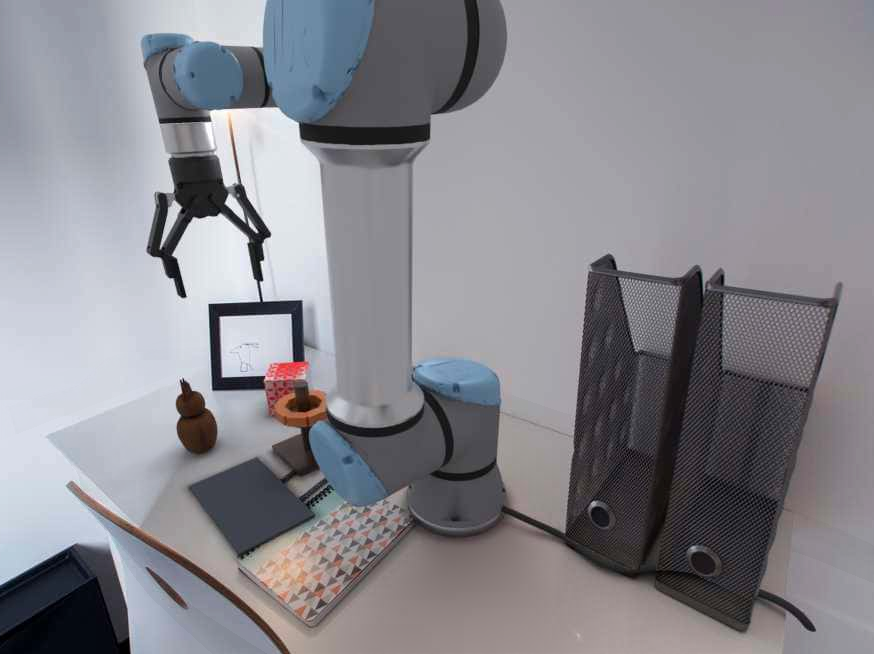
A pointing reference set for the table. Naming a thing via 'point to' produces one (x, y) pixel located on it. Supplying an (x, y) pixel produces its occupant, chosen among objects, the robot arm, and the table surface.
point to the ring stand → (299, 437)
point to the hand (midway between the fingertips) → (222, 288)
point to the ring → (301, 418)
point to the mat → (250, 504)
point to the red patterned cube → (285, 380)
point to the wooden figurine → (195, 421)
